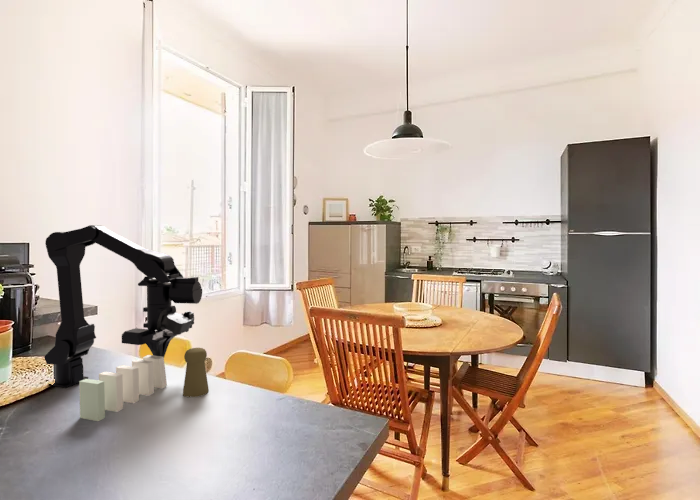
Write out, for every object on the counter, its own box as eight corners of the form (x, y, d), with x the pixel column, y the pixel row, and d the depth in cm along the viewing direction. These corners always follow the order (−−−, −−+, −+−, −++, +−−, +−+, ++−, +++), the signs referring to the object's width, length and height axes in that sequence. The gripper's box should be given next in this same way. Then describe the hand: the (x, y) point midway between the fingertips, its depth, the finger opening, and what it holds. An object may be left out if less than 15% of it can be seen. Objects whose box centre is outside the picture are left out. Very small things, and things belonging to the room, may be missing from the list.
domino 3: (148, 395, 95) (148, 363, 94) (132, 393, 96) (131, 361, 96) (153, 393, 96) (153, 361, 96) (137, 390, 98) (137, 359, 97)
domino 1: (116, 411, 86) (116, 376, 86) (99, 408, 88) (98, 373, 87) (122, 408, 88) (122, 374, 87) (105, 405, 89) (105, 371, 89)
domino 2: (133, 403, 90) (133, 369, 90) (116, 400, 92) (116, 367, 92) (139, 400, 92) (138, 367, 92) (122, 397, 93) (121, 365, 93)
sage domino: (98, 421, 82) (97, 384, 82) (80, 418, 83) (79, 381, 83) (105, 417, 83) (104, 381, 83) (86, 414, 85) (86, 378, 84)
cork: (199, 398, 94) (199, 353, 93) (177, 395, 95) (177, 351, 94) (213, 388, 100) (213, 346, 99) (192, 386, 101) (192, 344, 100)
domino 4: (162, 388, 99) (158, 359, 98) (146, 386, 101) (143, 357, 99) (167, 385, 101) (163, 356, 99) (151, 383, 102) (147, 354, 101)
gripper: (157, 311, 90) (158, 378, 90) (208, 299, 107) (208, 354, 108) (119, 308, 93) (120, 373, 93) (175, 296, 111) (175, 350, 111)
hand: (159, 362), depth 101 cm, fingers closed
